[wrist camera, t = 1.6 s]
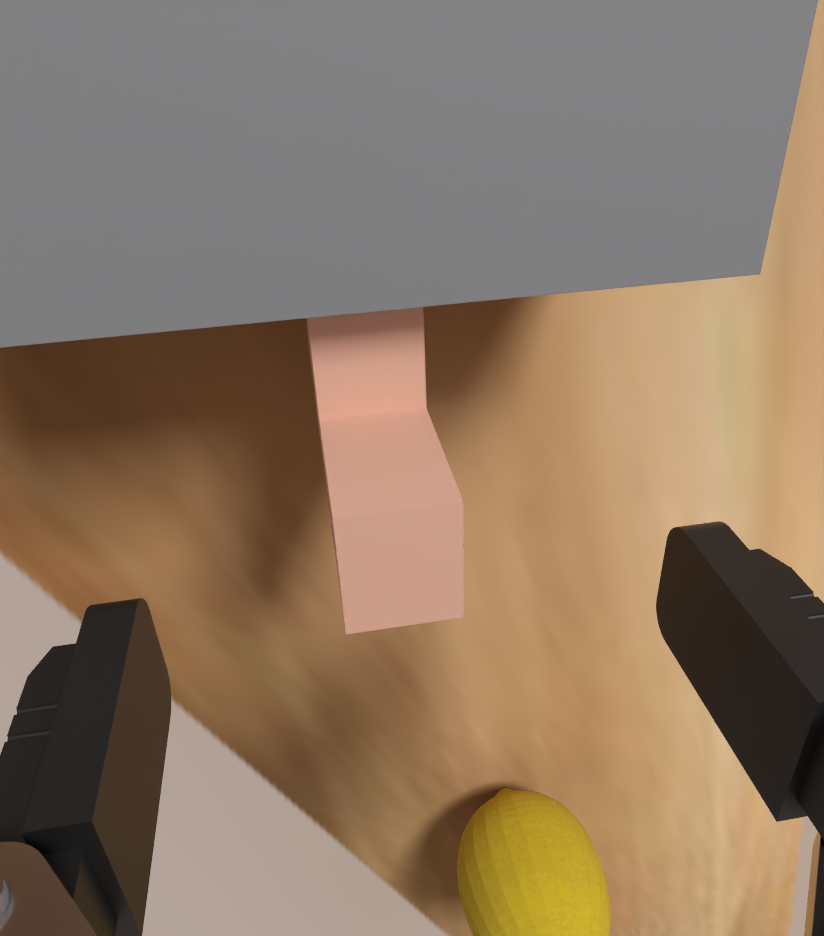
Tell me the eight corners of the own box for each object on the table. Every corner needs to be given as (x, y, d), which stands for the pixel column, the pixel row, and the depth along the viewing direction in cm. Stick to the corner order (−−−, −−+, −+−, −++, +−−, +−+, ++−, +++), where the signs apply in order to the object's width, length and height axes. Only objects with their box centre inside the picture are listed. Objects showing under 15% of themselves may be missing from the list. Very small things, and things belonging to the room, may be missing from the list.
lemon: (452, 843, 34) (499, 1052, 28) (428, 769, 31) (474, 984, 25) (571, 809, 34) (646, 1009, 28) (559, 733, 31) (640, 936, 25)
